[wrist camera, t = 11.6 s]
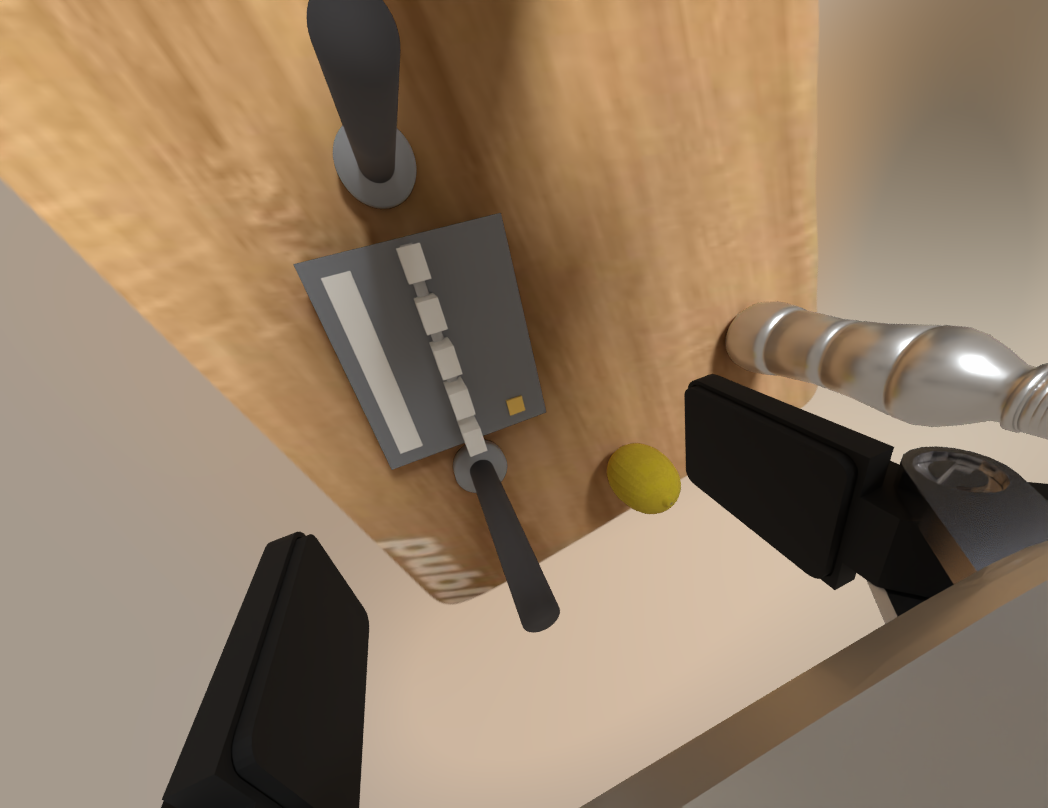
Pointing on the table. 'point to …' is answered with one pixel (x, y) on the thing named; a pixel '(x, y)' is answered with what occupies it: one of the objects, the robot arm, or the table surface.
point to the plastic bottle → (896, 366)
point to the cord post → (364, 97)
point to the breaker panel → (403, 345)
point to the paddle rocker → (441, 346)
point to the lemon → (643, 478)
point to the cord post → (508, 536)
